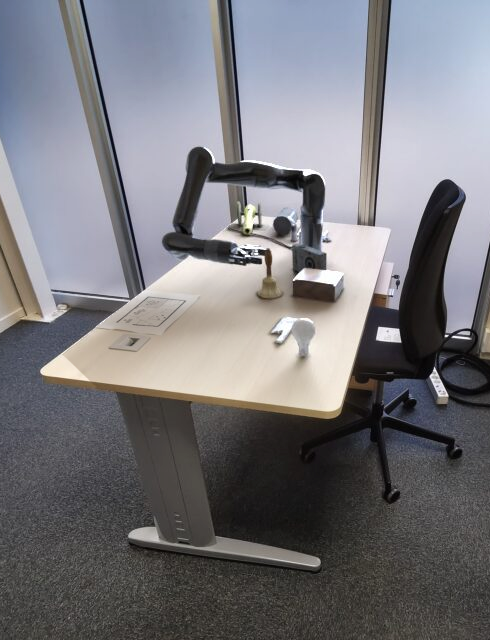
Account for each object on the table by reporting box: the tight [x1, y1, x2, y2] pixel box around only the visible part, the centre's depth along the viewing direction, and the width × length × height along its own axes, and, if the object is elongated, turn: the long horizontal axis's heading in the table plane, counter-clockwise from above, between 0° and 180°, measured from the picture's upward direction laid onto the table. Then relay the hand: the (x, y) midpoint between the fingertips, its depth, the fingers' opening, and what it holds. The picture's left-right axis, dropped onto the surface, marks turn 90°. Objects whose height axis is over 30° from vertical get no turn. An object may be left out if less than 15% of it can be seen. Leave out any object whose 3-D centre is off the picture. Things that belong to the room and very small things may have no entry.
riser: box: [292, 268, 345, 303], centre depth 156 cm, size 15×13×6 cm
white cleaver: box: [270, 316, 298, 344], centre depth 132 cm, size 5×15×1 cm, turn 168°
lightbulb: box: [290, 317, 316, 357], centre depth 118 cm, size 6×6×11 cm
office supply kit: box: [272, 206, 331, 243], centre depth 220 cm, size 40×28×9 cm
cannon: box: [236, 200, 263, 236], centre depth 217 cm, size 25×12×11 cm, turn 6°
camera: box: [291, 242, 328, 273], centre depth 170 cm, size 16×4×10 cm, turn 47°
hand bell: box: [257, 247, 283, 299], centre depth 150 cm, size 8×8×16 cm
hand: (266, 257), depth 148 cm, fingers open, 8 cm apart
